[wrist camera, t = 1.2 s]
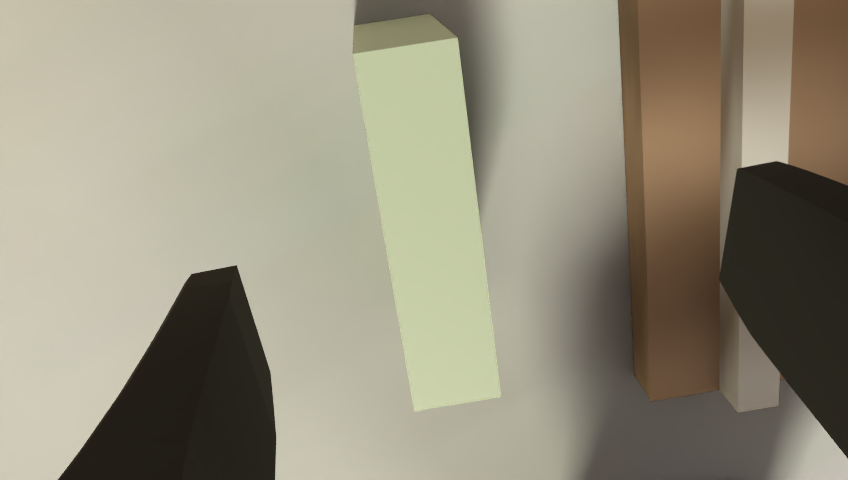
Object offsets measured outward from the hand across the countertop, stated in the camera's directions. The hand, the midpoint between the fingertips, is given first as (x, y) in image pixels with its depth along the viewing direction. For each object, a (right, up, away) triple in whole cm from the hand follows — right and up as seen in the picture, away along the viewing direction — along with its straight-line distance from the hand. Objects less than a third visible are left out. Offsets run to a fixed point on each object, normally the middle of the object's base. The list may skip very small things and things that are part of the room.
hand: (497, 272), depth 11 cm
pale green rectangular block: (-1, +3, +10) cm, 11 cm away
